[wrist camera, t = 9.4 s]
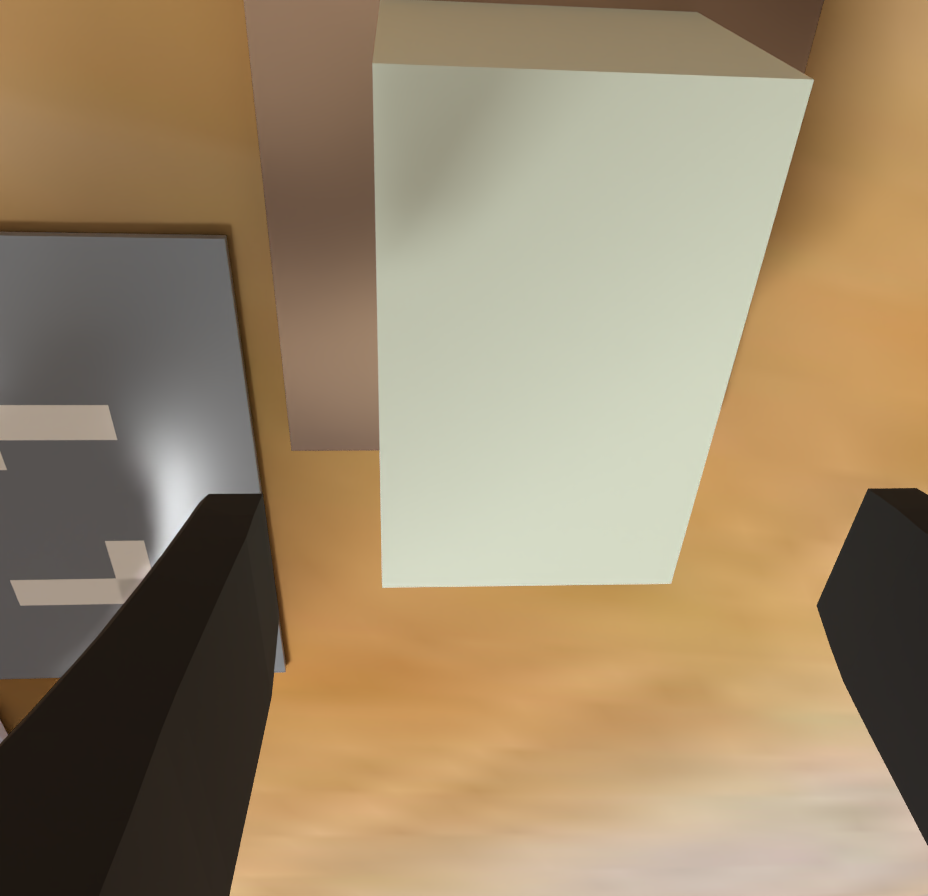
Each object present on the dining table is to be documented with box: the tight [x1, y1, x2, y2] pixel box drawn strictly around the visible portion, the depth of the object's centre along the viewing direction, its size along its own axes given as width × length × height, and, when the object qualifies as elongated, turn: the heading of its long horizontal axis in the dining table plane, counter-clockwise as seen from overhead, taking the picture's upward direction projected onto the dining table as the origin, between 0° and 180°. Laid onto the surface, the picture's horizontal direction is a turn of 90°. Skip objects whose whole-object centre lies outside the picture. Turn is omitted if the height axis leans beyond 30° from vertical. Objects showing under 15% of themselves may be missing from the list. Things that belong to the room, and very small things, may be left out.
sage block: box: [372, 0, 814, 588], centre depth 15 cm, size 9×6×5 cm, turn 177°
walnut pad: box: [244, 0, 824, 451], centre depth 17 cm, size 10×10×1 cm
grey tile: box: [0, 232, 286, 679], centre depth 21 cm, size 14×10×1 cm
